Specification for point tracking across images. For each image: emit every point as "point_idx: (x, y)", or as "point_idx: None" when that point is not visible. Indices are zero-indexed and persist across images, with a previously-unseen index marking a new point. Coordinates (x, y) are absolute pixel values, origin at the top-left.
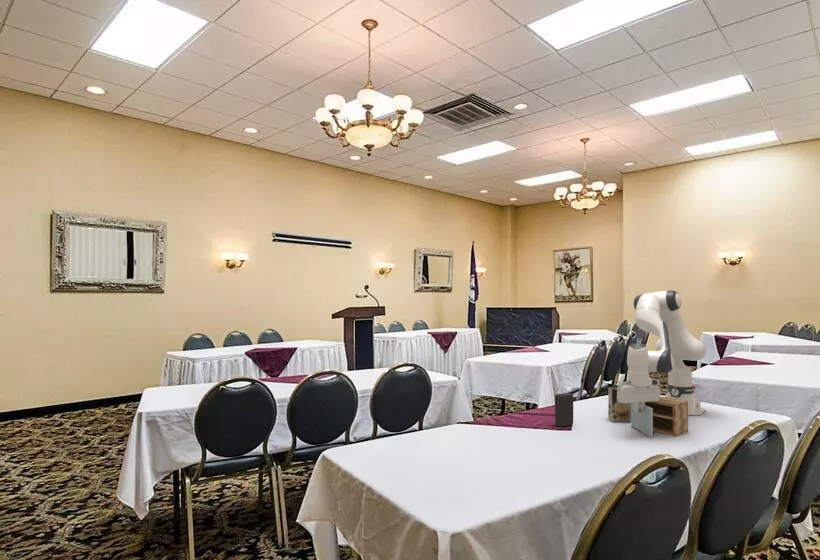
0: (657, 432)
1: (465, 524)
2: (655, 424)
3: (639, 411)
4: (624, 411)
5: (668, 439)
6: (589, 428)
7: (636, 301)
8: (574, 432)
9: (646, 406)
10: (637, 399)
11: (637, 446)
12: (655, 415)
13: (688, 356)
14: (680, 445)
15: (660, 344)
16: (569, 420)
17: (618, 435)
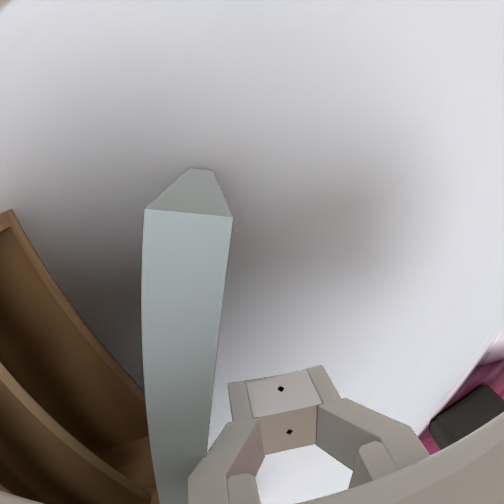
0: (75, 311)
1: None
2: (47, 412)
3: (286, 377)
4: None
5: (83, 145)
6: (414, 388)
7: None
8: (495, 324)
9: (189, 415)
10: (459, 500)
11: (399, 46)
12: (37, 409)
13: None
14: (102, 12)
15: None
16: (461, 418)
17: (377, 273)
